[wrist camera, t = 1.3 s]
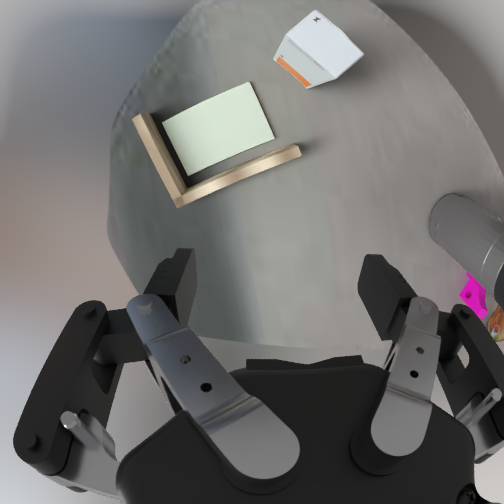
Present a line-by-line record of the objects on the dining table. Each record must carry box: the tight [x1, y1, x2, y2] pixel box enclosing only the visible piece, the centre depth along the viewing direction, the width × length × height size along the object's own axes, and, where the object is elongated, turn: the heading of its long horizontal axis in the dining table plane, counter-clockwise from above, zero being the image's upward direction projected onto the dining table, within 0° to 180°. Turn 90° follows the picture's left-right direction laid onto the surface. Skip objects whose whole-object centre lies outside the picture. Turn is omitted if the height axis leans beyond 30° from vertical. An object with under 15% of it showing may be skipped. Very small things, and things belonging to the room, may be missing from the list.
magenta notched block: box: [459, 272, 488, 319], centre depth 39 cm, size 15×6×8 cm, turn 157°
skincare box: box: [273, 10, 364, 89], centre depth 22 cm, size 6×4×12 cm
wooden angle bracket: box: [132, 114, 302, 208], centre depth 30 cm, size 16×13×4 cm
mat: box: [162, 82, 275, 176], centre depth 31 cm, size 12×8×1 cm, turn 113°
